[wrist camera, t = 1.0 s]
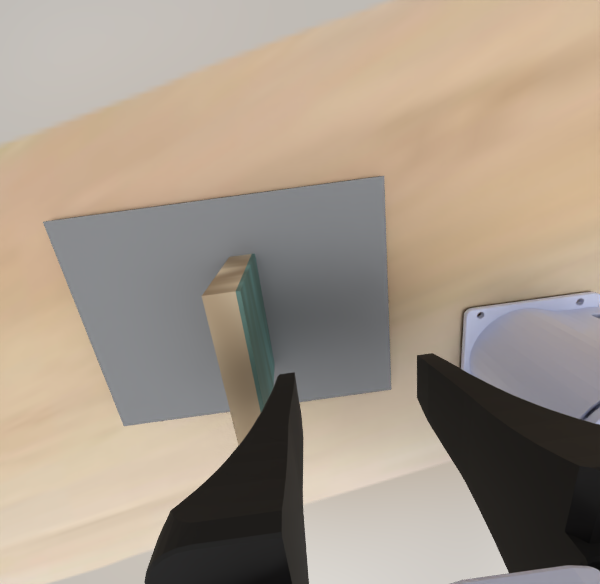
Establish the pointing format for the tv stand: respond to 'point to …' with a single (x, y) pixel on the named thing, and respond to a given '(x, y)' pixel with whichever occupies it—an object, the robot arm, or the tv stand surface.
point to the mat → (200, 273)
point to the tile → (241, 339)
